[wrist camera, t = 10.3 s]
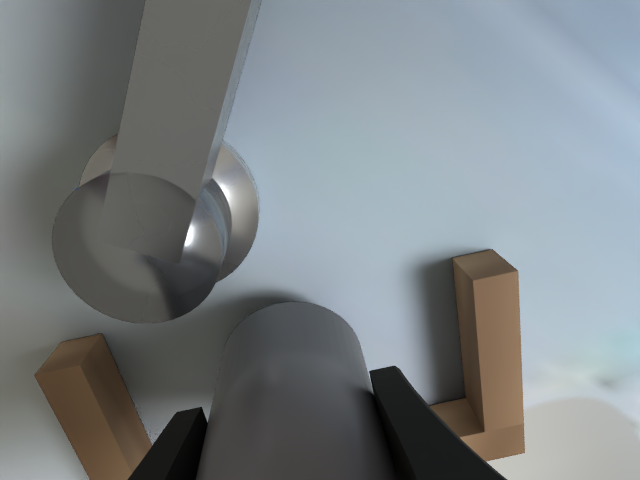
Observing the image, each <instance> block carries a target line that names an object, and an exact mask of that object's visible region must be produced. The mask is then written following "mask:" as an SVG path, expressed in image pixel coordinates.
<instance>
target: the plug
mask: <svg viewBox="0 0 640 480" xmlns="http://www.w3.org/2000/svg"><path fill="white" fill-rule="evenodd" d="M196 480H398V478H397V474H396V471H395V467H394V464H393V460H392V457H391V453H390V450H389V446H388V442H387V439H386V435H385V432H384V429H383V426H382V422H381V419H380V415H379V411H378V408H377V404H376V401H375V397H374V393H373V389H372V385H371V382H370V378H369V375H368V371H367V368H366V364H365V360H364V357H363V353H362V350H361V346H360V343H359V340H358V338H357V336H356V334H355V332H354V331H353V329H352V328H351V327H350V325H349V324H348V323H347V322H346V321H345V320H344V319H343V318H341V317H340V316H339V315H337V314H336V313H334V312H333V311H331V310H329V309H326V308H324V307H321V306H318V305H315V304H311V303H305V302H284V303H278V304H274V305H270V306H267V307H264V308H262V309H260V310H258V311H256V312H254V313H252V314H250V315H249V316H248V317H246V318H245V319H244V320H242V321H241V322H240V323H239V324H238V325H237V326H236V328H235V329H234V330H233V331H232V333H231V334H230V336H229V338H228V340H227V342H226V344H225V347H224V351H223V355H222V360H221V364H220V369H219V374H218V378H217V383H216V388H215V392H214V397H213V402H212V406H211V411H210V416H209V420H208V425H207V429H206V434H205V439H204V443H203V448H202V453H201V457H200V462H199V467H198V471H197V476H196Z"/></svg>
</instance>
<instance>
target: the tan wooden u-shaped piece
mask: <svg viewBox="0 0 640 480" xmlns="http://www.w3.org/2000/svg"><path fill="white" fill-rule="evenodd" d="M452 261H453V271H454V282H455V292H456V302H457V313H458V323H459V334H460V344H461V354H462V365H463V375H464V385H465V396H466V398H463V399H458V400H454V401H449V402H445V403H440V404H435V405H431V406H429V407H430V408H431V409H432V410H433V411H434V412H435V413H436V414H437V415H438V416H439V417H440V418H441V419H442V420H443V421H444V422H445V423H446V424H447V426H448V427H449V428H450V429H451V430H452V431H453V432H454V433H455V434H456V435H457V436H458V437H459V438H460V439H462V440H463V441H464V442H465V443H466V444H467V445H468V446H469V447H470V448H471V449H472V450H473V451H474V452H476V453H477V454H478V455H479V456H480V457H481V458H482V459H483V460H484V461H490V460H494V459H499V458H504V457H508V456H512V455H518V454H522V453H525V444H524V417H523V389H522V362H521V335H520V308H519V280H518V270H517V269H515V268H514V267H513V266H512V265H511V264H509V263H508V262H507V261H506V260H505V259H503V258H502V257H501V256H500V255H499V254H497V253H496V252H495V251H494V250H493V249H492V250H487V251H482V252H478V253H473V254H469V255H464V256H459V257H455V258H452ZM34 376H35V377H36V379H37V381H38V383H39V385H40V387H41V389H42V390H43V392H44V394H45V396H46V398H47V400H48V402H49V404H50V405H51V407H52V409H53V411H54V413H55V415H56V417H57V419H58V420H59V422H60V424H61V426H62V428H63V430H64V432H65V433H66V435H67V437H68V439H69V441H70V443H71V445H72V447H73V448H74V450H75V452H76V454H77V456H78V458H79V460H80V461H81V463H82V465H83V467H84V469H85V471H86V473H87V475H88V476H89V478H90V480H128V478H129V477H130V476H131V474H132V473H133V471H134V470H135V469H136V467H137V466H138V465H139V463H140V462H141V461H142V459H143V458H144V457H145V455H146V454H147V452H148V451H149V450H150V448H151V447H152V444H151V442H150V440H149V438H148V435H147V433H146V431H145V429H144V426H143V424H142V422H141V420H140V417H139V415H138V413H137V411H136V408H135V406H134V404H133V402H132V400H131V397H130V395H129V393H128V391H127V388H126V386H125V384H124V382H123V379H122V377H121V375H120V373H119V370H118V368H117V366H116V364H115V361H114V359H113V357H112V355H111V353H110V350H109V348H108V346H107V344H106V341H105V339H104V337H103V335H102V334H97V335H93V336H88V337H83V338H79V339H74V340H70V341H65V342H61V343H60V345H59V346H58V347H57V348H56V350H55V351H54V352H53V353H52V354H51V356H50V357H49V358H48V359H47V360H46V362H45V363H44V364H43V365H42V367H41V368H40V369H39V370H38V371H37V373H36V374H35V375H34Z"/></svg>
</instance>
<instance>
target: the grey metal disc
mask: <svg viewBox="0 0 640 480" xmlns="http://www.w3.org/2000/svg"><path fill="white" fill-rule="evenodd" d="M117 138H118V134H116V135H115V136H113V137H112V138H110V139H108V140H107V141H106V142H105V143H104V144H102V145H101V146H100V147H99V148H98V149H97V150H96V152H95V153H94V154H93V155H92V156H91V158H90V160H89V161H88V163H87V165H86V166H85V169H84V171H83V174H82V176H81V180H80V184H79V187H80V186H82V185H83V184H85V183H87V182H88V181H90V180H92V179H93V178H95V177H97V176H99V175H101V174H102V173H104V172H106V171H108V170H110V169H111V168H112V163H113V158H114V153H115V148H116V143H117ZM212 178H213V179H214V180H215V181H216V182H217V183H218V185H219V186H220V188H221V189H222V191H223V192H224V194H225V196H226V198H227V201H228V204H229V206H230V211H231V216H232V231H231V236H230V241H229V244H228V247H227V250H226V253H225V256H224V260H223V263H222V266H221V269H220V272H219V275H218V278H217V281H216V282H218V281H220V280H222V279H223V278H225V277H226V276H228V275H229V274H230V273H232V272H233V271H234V270H235V269H236V268H237V267H238V266H239V265H240V264H241V263H242V261H243V260H244V259H245V257H246V256H247V254H248V252H249V250H250V249H251V247H252V244H253V242H254V239H255V236H256V231H257V227H258V221H259V197H258V192H257V188H256V185H255V182H254V179H253V177H252V175H251V173H250V171H249V169H248V167H247V165H246V164H245V162H244V161H243V159H242V158H241V157H240V156H239V155H238V153H237V152H236V151H235V150H234V149H233V148H232V147H231V146H230V145H228V144H227V143H226V142H225V141H222V144H221V148H220V152H219V155H218V159H217V162H216V166H215V169H214V173H213V177H212Z"/></svg>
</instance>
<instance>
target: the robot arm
mask: <svg viewBox="0 0 640 480" xmlns="http://www.w3.org/2000/svg"><path fill="white" fill-rule="evenodd" d="M369 372H370V378H371V383H372V388H373V393H374V397H375V401H376V404H377V408H378V411H379V415H380V419H381V422H382V426H383V429H384V432H385V435H386V439H387V442H388V446H389V450H390V453H391V457H392V460H393V464H394V467H395V471H396V474H397V478H398V480H507V479H506V478H504V477H503V476H502V475H501V474H499V473H498V472H497V471H496V470H495V469H494V468H492V467H491V466H490V465H489V464H488V463H487V462H486V461H484V460H483V459H482V458H481V457H480V456H479V455H478V454H477V453H476V452H474V451H473V450H472V449H471V448H470V447H469V446H468V445H467V444H466V443H465V442H464V441H463V440H462V439H460V438H459V437H458V436H457V435H456V434H455V433H454V432H453V431H452V430H451V429H450V428H449V427H448V426H447V424H446V423H445V422H444V421H443V420H442V419H441V418H440V417H439V416H438V415H437V414H436V413H435V412H434V411H433V410H432V409H431V408H430V407H429V405H428V404H427V403H426V402H425V401H424V400H423V399H422V397H421V396H420V395H419V394H418V393H417V392H416V390H415V389H414V388H413V387H412V385H411V384H410V383H409V381H408V380H407V379H406V377H405V376H404V375H403V373H402V372H401V370H400V369H399V368H397V367H396V366H390V367H386V368H381V369H376V370H372V371H369ZM207 425H208V423H207V420H206V417H205V415H204V412H203V409H202V407H199V408H195V409H190V410H185V411H181V412H176V414H175V415H174V416H173V418H172V419H171V420H170V422H169V423H168V424H167V426H166V427H165V429H164V430H163V431H162V433H161V434H160V436H159V437H158V438H157V440H156V441H155V443H154V444H153V445H152V447H151V448H150V450H149V451H148V452H147V454H146V455H145V457H144V458H143V459H142V461H141V462H140V463H139V465H138V466H137V467H136V469H135V470H134V471H133V473H132V474H131V476H130V477H129V478H128V480H196V476H197V471H198V467H199V462H200V457H201V453H202V448H203V443H204V439H205V434H206V429H207Z"/></svg>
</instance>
